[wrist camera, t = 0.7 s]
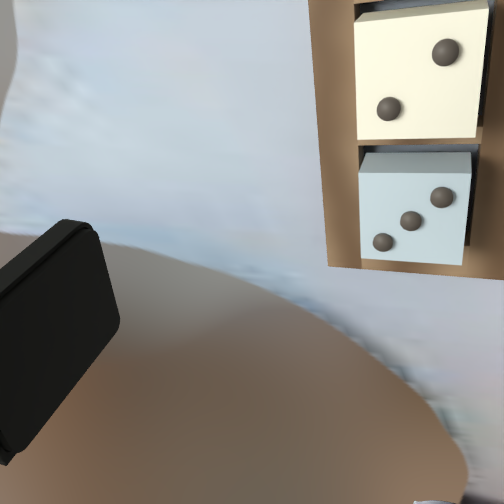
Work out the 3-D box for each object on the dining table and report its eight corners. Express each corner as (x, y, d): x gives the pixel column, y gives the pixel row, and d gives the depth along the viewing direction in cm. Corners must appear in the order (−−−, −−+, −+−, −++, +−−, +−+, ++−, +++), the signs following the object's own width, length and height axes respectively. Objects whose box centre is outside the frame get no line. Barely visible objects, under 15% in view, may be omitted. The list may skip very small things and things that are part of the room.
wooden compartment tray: (604, -339, 18) (617, -363, 17) (505, 263, 33) (507, 280, 32) (300, -243, 23) (289, -254, 21) (333, 251, 37) (328, 266, 36)
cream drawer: (486, -2, 24) (489, 9, 21) (474, 118, 27) (475, 139, 24) (363, 12, 26) (352, 23, 23) (365, 121, 29) (356, 141, 26)
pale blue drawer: (470, 152, 28) (471, 175, 25) (461, 239, 31) (461, 268, 28) (366, 152, 30) (357, 175, 28) (368, 234, 33) (360, 260, 31)
